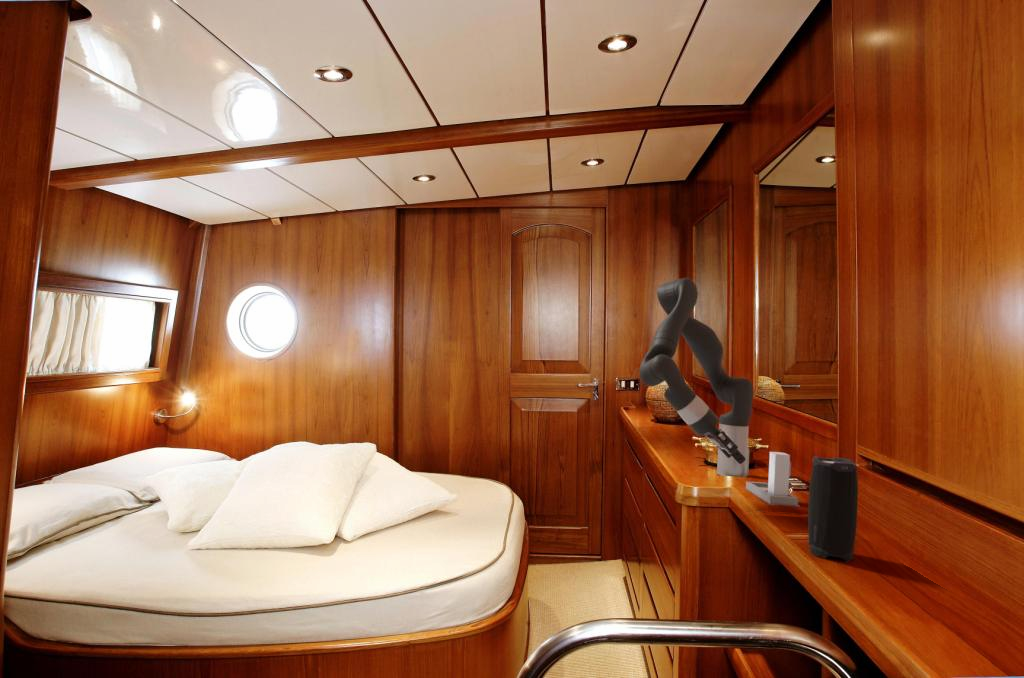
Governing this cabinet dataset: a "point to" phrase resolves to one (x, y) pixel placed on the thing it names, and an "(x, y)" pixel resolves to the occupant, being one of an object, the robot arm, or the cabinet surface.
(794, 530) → the cabinet surface
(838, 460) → the portable speaker
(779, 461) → the plug
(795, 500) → the panel
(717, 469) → the robot arm
